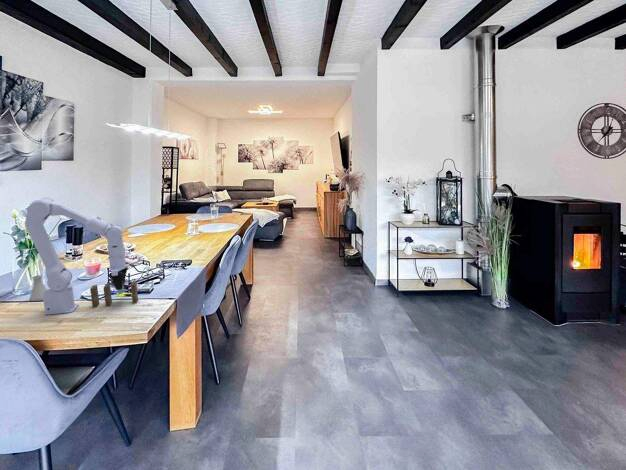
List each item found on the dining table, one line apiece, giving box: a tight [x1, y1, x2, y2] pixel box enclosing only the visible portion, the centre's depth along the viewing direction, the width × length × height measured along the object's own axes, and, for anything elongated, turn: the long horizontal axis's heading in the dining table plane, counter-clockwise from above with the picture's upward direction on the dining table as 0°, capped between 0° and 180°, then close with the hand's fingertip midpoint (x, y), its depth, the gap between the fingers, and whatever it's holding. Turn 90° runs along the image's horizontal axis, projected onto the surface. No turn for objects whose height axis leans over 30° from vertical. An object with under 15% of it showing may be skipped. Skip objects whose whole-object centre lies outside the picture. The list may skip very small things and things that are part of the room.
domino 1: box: [89, 284, 100, 308], centre depth 150 cm, size 2×4×8 cm, turn 17°
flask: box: [29, 274, 48, 302], centre depth 157 cm, size 7×7×10 cm
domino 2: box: [103, 283, 113, 307], centre depth 151 cm, size 2×4×8 cm, turn 17°
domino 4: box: [130, 281, 139, 304], centre depth 154 cm, size 2×4×8 cm, turn 16°
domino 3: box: [117, 272, 125, 295], centre depth 152 cm, size 2×4×8 cm, turn 16°
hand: (120, 287), depth 152 cm, fingers closed on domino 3, 4 cm apart
